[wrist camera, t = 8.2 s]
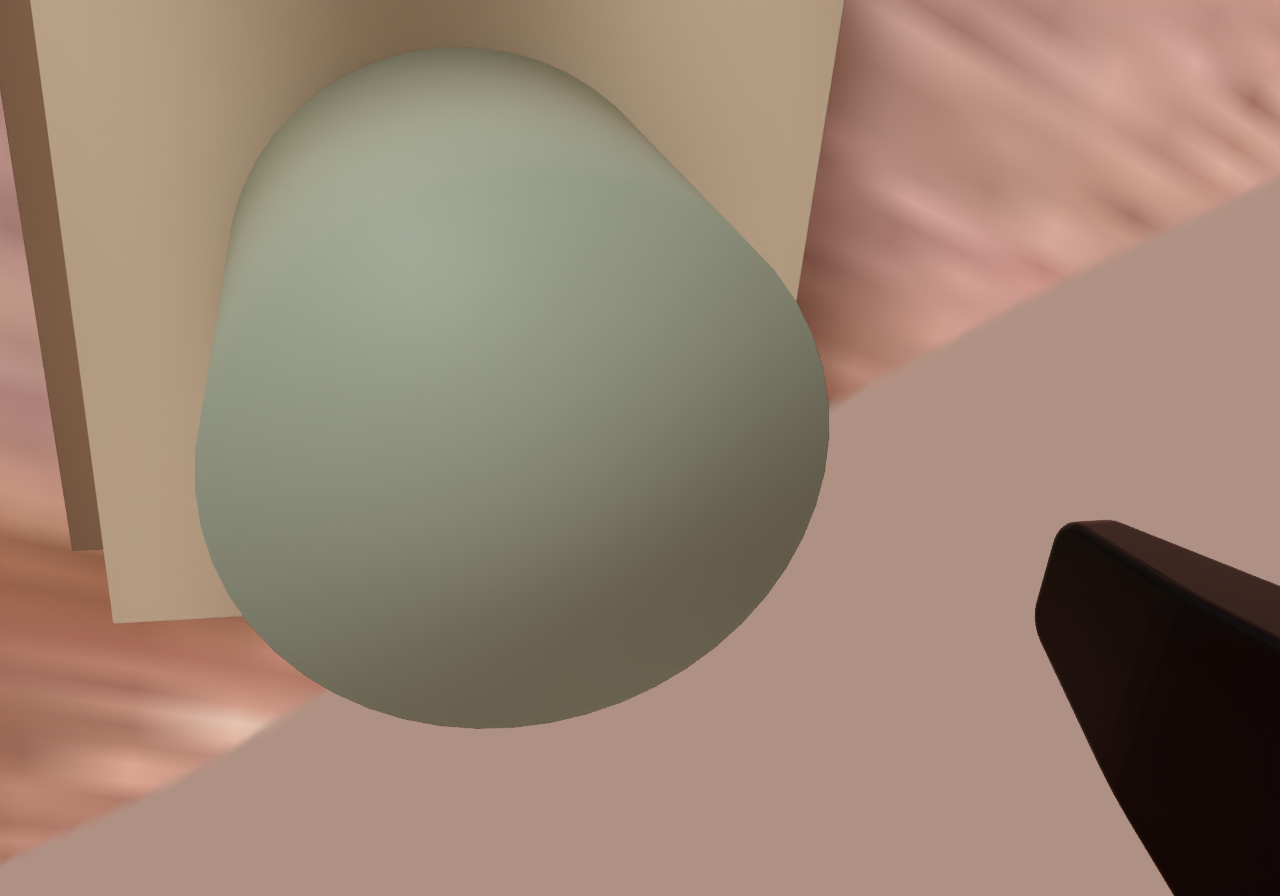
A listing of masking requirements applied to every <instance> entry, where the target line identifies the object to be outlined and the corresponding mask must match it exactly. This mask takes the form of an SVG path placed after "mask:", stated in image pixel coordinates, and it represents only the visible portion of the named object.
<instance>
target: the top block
mask: <svg viewBox="0 0 1280 896" xmlns="http://www.w3.org/2000/svg"><path fill="white" fill-rule="evenodd" d="M30 3H31V10H32V18H33V25H34V33H35V40H36V48H37V55H38V63H39V70H40V78H41V85H42V93H43V100H44V108H45V115H46V123H47V130H48V138H49V145H50V153H51V160H52V168H53V175H54V183H55V190H56V198H57V205H58V213H59V220H60V228H61V235H62V242H63V250H64V257H65V265H66V272H67V280H68V287H69V295H70V302H71V310H72V317H73V325H74V332H75V340H76V347H77V355H78V362H79V370H80V377H81V385H82V392H83V400H84V407H85V415H86V422H87V430H88V437H89V445H90V452H91V460H92V467H93V475H94V482H95V490H96V497H97V505H98V512H99V520H100V527H101V535H102V542H103V550H104V557H105V565H106V572H107V580H108V587H109V595H110V602H111V610H112V617H113V623H130V622H148V621H166V620H184V619H201V618H219V617H237V616H243V615H242V614H241V612H240V611H239V609H238V608H237V607H236V605H235V604H234V602H233V601H232V600H231V598H230V597H229V595H228V593H227V591H226V589H225V587H224V585H223V583H222V581H221V579H220V577H219V575H218V573H217V571H216V569H215V567H214V565H213V563H212V560H211V557H210V554H209V551H208V548H207V545H206V542H205V539H204V536H203V533H202V529H201V525H200V519H199V512H198V506H197V499H196V493H195V449H196V442H197V436H198V430H199V424H200V418H201V412H202V405H203V399H204V393H205V387H206V381H207V375H208V368H209V362H210V356H211V350H212V344H213V338H214V331H215V325H216V319H217V313H218V307H219V300H220V294H221V288H222V282H223V276H224V270H225V263H226V257H227V251H228V245H229V239H230V233H231V227H232V221H233V217H234V213H235V210H236V207H237V204H238V201H239V198H240V195H241V191H242V189H243V187H244V185H245V183H246V181H247V179H248V176H249V174H250V172H251V170H252V168H253V166H254V164H255V162H256V161H257V159H258V158H259V156H260V155H261V153H262V152H263V150H264V149H265V147H266V146H267V144H268V143H269V141H270V140H271V138H272V137H273V136H274V134H275V133H276V132H277V131H278V130H279V129H280V128H281V127H282V126H283V125H284V123H285V122H286V121H287V120H288V119H289V118H290V117H291V116H292V115H293V114H294V113H295V112H296V111H297V110H298V109H299V108H300V107H302V106H303V105H304V104H305V103H306V102H308V101H309V100H310V99H311V98H313V97H314V96H315V95H316V94H317V93H319V92H320V91H321V90H323V89H325V88H326V87H328V86H330V85H331V84H333V83H334V82H336V81H338V80H339V79H341V78H343V77H344V76H346V75H347V74H350V73H352V72H354V71H356V70H359V69H361V68H363V67H366V66H368V65H370V64H372V63H375V62H377V61H380V60H384V59H387V58H391V57H394V56H398V55H401V54H405V53H408V52H414V51H421V50H428V49H435V48H455V47H475V48H483V49H491V50H498V51H506V52H510V53H514V54H517V55H521V56H525V57H528V58H532V59H536V60H539V61H541V62H543V63H546V64H548V65H550V66H553V67H555V68H558V69H560V70H562V71H565V72H567V73H568V74H570V75H572V76H573V77H575V78H577V79H578V80H580V81H582V82H584V83H585V84H587V85H589V86H590V87H592V88H593V89H595V90H596V91H597V92H598V93H600V94H601V95H602V96H603V97H605V98H606V99H607V100H608V101H610V102H611V103H612V104H613V105H615V106H616V107H617V108H618V109H619V110H620V111H621V112H622V113H623V114H624V115H625V116H626V117H627V118H628V119H629V120H630V121H631V122H632V124H633V125H634V126H635V127H636V128H637V129H638V130H639V131H640V132H641V133H642V134H643V135H644V136H645V137H646V138H647V139H648V140H649V141H650V142H651V143H652V144H653V145H654V146H655V147H656V148H657V149H658V150H659V151H660V152H661V153H662V154H663V155H664V156H665V157H666V158H667V159H668V161H669V162H670V163H671V164H672V165H673V166H674V167H675V168H676V169H677V170H678V171H679V172H680V173H681V174H682V175H683V176H684V177H685V178H686V179H687V180H688V181H689V182H690V183H691V184H692V185H693V186H694V187H695V188H696V189H697V190H698V191H699V192H700V193H701V194H702V195H703V196H704V198H705V199H706V200H707V201H708V202H709V203H710V204H711V205H712V206H713V207H714V208H715V209H716V210H717V211H718V212H719V213H720V214H721V215H722V216H723V217H724V218H725V219H726V220H727V221H728V222H729V223H730V224H731V225H732V226H733V227H734V228H735V229H736V230H737V231H738V232H739V234H740V235H741V236H742V237H743V238H744V239H745V240H746V241H747V242H748V243H749V244H750V245H751V246H752V247H753V248H754V249H755V250H756V251H757V252H758V253H759V254H760V255H761V256H762V258H763V259H764V260H765V261H766V262H767V263H768V264H769V265H770V266H771V267H772V268H773V269H774V270H775V272H776V273H777V274H778V276H779V277H780V279H781V280H782V282H783V283H784V284H785V286H786V287H787V289H788V290H789V292H790V293H791V294H792V296H793V297H794V299H795V300H797V294H798V288H799V281H800V275H801V269H802V263H803V256H804V250H805V244H806V238H807V231H808V225H809V219H810V212H811V206H812V200H813V194H814V187H815V181H816V175H817V168H818V162H819V156H820V150H821V143H822V137H823V131H824V125H825V118H826V112H827V106H828V99H829V93H830V87H831V81H832V74H833V68H834V62H835V56H836V49H837V43H838V37H839V30H840V24H841V18H842V12H843V5H844V0H30Z"/></svg>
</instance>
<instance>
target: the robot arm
mask: <svg viewBox="0 0 1280 896" xmlns="http://www.w3.org/2000/svg"><path fill="white" fill-rule="evenodd" d="M1035 623H1036V629H1037V633H1038V636H1039V639H1040V641H1041V643H1042V646H1043V648H1044V650H1045V652H1046V654H1047V656H1048V658H1049V660H1050V662H1051V665H1052V667H1053V669H1054V671H1055V673H1056V675H1057V677H1058V679H1059V681H1060V684H1061V686H1062V688H1063V690H1064V692H1065V694H1066V697H1067V699H1068V701H1069V703H1070V705H1071V707H1072V709H1073V711H1074V713H1075V715H1076V718H1077V720H1078V722H1079V724H1080V726H1081V728H1082V730H1083V732H1084V735H1085V737H1086V739H1087V741H1088V743H1089V745H1090V747H1091V749H1092V751H1093V754H1094V756H1095V758H1096V760H1097V762H1098V764H1099V766H1100V768H1101V770H1102V772H1103V774H1104V776H1105V778H1106V780H1107V782H1108V784H1109V786H1110V788H1111V790H1112V792H1113V794H1114V796H1115V798H1116V799H1117V801H1118V803H1119V805H1120V806H1121V808H1122V810H1123V811H1124V813H1125V815H1126V817H1127V818H1128V820H1129V822H1130V824H1131V825H1132V827H1133V829H1134V830H1135V832H1136V834H1137V835H1138V837H1139V839H1140V840H1141V842H1142V843H1143V845H1144V847H1145V849H1146V850H1147V852H1148V853H1149V855H1150V857H1151V858H1152V860H1153V862H1154V863H1155V865H1156V867H1157V868H1158V870H1159V872H1160V873H1161V875H1162V877H1163V878H1164V880H1165V882H1166V883H1167V885H1168V887H1169V888H1170V890H1171V891H1172V893H1173V895H1174V896H1280V586H1279V585H1276V584H1273V583H1271V582H1268V581H1266V580H1263V579H1261V578H1258V577H1256V576H1253V575H1251V574H1248V573H1246V572H1243V571H1241V570H1238V569H1236V568H1233V567H1231V566H1228V565H1226V564H1223V563H1221V562H1218V561H1215V560H1213V559H1210V558H1208V557H1205V556H1203V555H1200V554H1198V553H1196V552H1193V551H1190V550H1188V549H1185V548H1183V547H1180V546H1178V545H1175V544H1173V543H1170V542H1168V541H1165V540H1163V539H1160V538H1158V537H1155V536H1152V535H1150V534H1147V533H1145V532H1143V531H1140V530H1138V529H1135V528H1132V527H1130V526H1128V525H1125V524H1122V523H1119V522H1116V521H1112V520H1097V521H1080V522H1071V523H1068V524H1066V525H1065V526H1063V527H1062V528H1061V529H1060V530H1059V532H1058V533H1057V535H1056V537H1055V539H1054V542H1053V546H1052V549H1051V553H1050V556H1049V560H1048V563H1047V567H1046V571H1045V575H1044V578H1043V581H1042V585H1041V588H1040V592H1039V596H1038V599H1037V603H1036V608H1035Z"/></svg>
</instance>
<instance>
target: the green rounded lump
mask: <svg viewBox="0 0 1280 896" xmlns="http://www.w3.org/2000/svg"><path fill="white" fill-rule="evenodd" d="M828 441H829V402H828V396H827V390H826V384H825V377H824V371H823V366H822V363H821V360H820V357H819V354H818V351H817V347H816V344H815V341H814V338H813V335H812V332H811V330H810V328H809V326H808V324H807V322H806V320H805V318H804V316H803V314H802V312H801V310H800V308H799V306H798V304H797V302H796V300H795V299H794V297H793V296H792V294H791V293H790V292H789V290H788V289H787V287H786V286H785V284H784V283H783V282H782V280H781V279H780V277H779V276H778V274H777V273H776V272H775V270H774V269H773V268H772V267H771V266H770V265H769V264H768V263H767V262H766V261H765V260H764V259H763V258H762V256H761V255H760V254H759V253H758V252H757V251H756V250H755V249H754V248H753V247H752V246H751V245H750V244H749V243H748V242H747V241H746V240H745V239H744V238H743V237H742V236H741V235H740V234H739V232H738V231H737V230H736V229H735V228H734V227H733V226H732V225H731V224H730V223H729V222H728V221H727V220H726V219H725V218H724V217H723V216H722V215H721V214H720V213H719V212H718V211H717V210H716V209H715V208H714V207H713V206H712V205H711V204H710V203H709V202H708V201H707V200H706V199H705V198H704V196H703V195H702V194H701V193H700V192H699V191H698V190H697V189H696V188H695V187H694V186H693V185H692V184H691V183H690V182H689V181H688V180H687V179H686V178H685V177H684V176H683V175H682V174H681V173H680V172H679V171H678V170H677V169H676V168H675V167H674V166H673V165H672V164H671V163H670V162H669V161H668V159H667V158H666V157H665V156H664V155H663V154H662V153H661V152H660V151H659V150H658V149H657V148H656V147H655V146H654V145H653V144H652V143H651V142H650V141H649V140H648V139H647V138H646V137H645V136H644V135H643V134H642V133H641V132H640V131H639V130H638V129H637V128H636V127H635V126H634V125H633V124H632V122H631V121H630V120H629V119H628V118H627V117H626V116H625V115H624V114H623V113H622V112H621V111H620V110H619V109H618V108H617V107H616V106H615V105H613V104H612V103H611V102H610V101H608V100H607V99H606V98H605V97H603V96H602V95H601V94H600V93H598V92H597V91H596V90H595V89H593V88H592V87H590V86H589V85H587V84H585V83H584V82H582V81H580V80H578V79H577V78H575V77H573V76H572V75H570V74H568V73H567V72H565V71H562V70H560V69H558V68H555V67H553V66H550V65H548V64H546V63H543V62H541V61H539V60H536V59H532V58H528V57H525V56H521V55H517V54H514V53H510V52H506V51H498V50H491V49H483V48H475V47H455V48H435V49H428V50H421V51H414V52H408V53H405V54H401V55H398V56H394V57H391V58H387V59H384V60H380V61H377V62H375V63H372V64H370V65H368V66H366V67H363V68H361V69H359V70H356V71H354V72H352V73H350V74H347V75H346V76H344V77H343V78H341V79H339V80H338V81H336V82H334V83H333V84H331V85H330V86H328V87H326V88H325V89H323V90H321V91H320V92H319V93H317V94H316V95H315V96H314V97H313V98H311V99H310V100H309V101H308V102H306V103H305V104H304V105H303V106H302V107H300V108H299V109H298V110H297V111H296V112H295V113H294V114H293V115H292V116H291V117H290V118H289V119H288V120H287V121H286V122H285V123H284V125H283V126H282V127H281V128H280V129H279V130H278V131H277V132H276V133H275V134H274V136H273V137H272V138H271V140H270V141H269V143H268V144H267V146H266V147H265V149H264V150H263V152H262V153H261V155H260V156H259V158H258V159H257V161H256V162H255V164H254V166H253V168H252V170H251V172H250V174H249V176H248V179H247V181H246V183H245V185H244V187H243V189H242V191H241V195H240V198H239V201H238V204H237V207H236V210H235V213H234V217H233V221H232V227H231V233H230V239H229V245H228V251H227V257H226V263H225V270H224V276H223V282H222V288H221V294H220V300H219V307H218V313H217V319H216V325H215V331H214V338H213V344H212V350H211V356H210V362H209V368H208V375H207V381H206V387H205V393H204V399H203V405H202V412H201V418H200V424H199V430H198V436H197V442H196V449H195V493H196V499H197V506H198V512H199V519H200V525H201V529H202V533H203V536H204V539H205V542H206V545H207V548H208V551H209V554H210V557H211V560H212V563H213V565H214V567H215V569H216V571H217V573H218V575H219V577H220V579H221V581H222V583H223V585H224V587H225V589H226V591H227V593H228V595H229V597H230V598H231V600H232V601H233V602H234V604H235V605H236V607H237V608H238V609H239V611H240V612H241V614H242V615H243V616H244V618H245V619H246V621H247V622H248V623H249V625H250V626H251V627H252V628H253V629H254V630H255V631H256V632H257V634H258V635H259V636H260V637H261V638H262V639H263V640H264V641H265V642H266V643H267V644H268V645H269V646H270V647H271V648H272V649H273V650H274V651H275V652H276V653H277V654H278V655H279V656H281V657H282V658H283V659H285V660H286V661H287V662H288V663H290V664H291V665H292V666H293V667H295V668H296V669H297V670H298V671H300V672H301V673H302V674H303V675H305V676H307V677H308V678H310V679H312V680H313V681H315V682H317V683H318V684H320V685H322V686H323V687H325V688H327V689H328V690H330V691H332V692H333V693H335V694H337V695H340V696H342V697H344V698H346V699H349V700H351V701H353V702H355V703H358V704H360V705H362V706H365V707H367V708H369V709H372V710H376V711H379V712H382V713H386V714H389V715H392V716H395V717H399V718H402V719H406V720H412V721H417V722H422V723H428V724H433V725H438V726H449V727H462V728H463V727H464V728H475V729H481V728H511V727H512V728H514V727H522V726H529V725H536V724H545V723H551V722H556V721H560V720H564V719H568V718H573V717H577V716H581V715H585V714H589V713H592V712H594V711H597V710H600V709H603V708H606V707H609V706H612V705H615V704H618V703H621V702H623V701H625V700H627V699H630V698H632V697H634V696H636V695H638V694H640V693H643V692H645V691H647V690H649V689H651V688H654V687H656V686H657V685H659V684H661V683H662V682H664V681H666V680H668V679H669V678H671V677H673V676H674V675H676V674H678V673H679V672H681V671H683V670H685V669H686V668H688V667H689V666H690V665H692V664H693V663H695V662H696V661H697V660H699V659H700V658H701V657H703V656H704V655H706V654H707V653H708V652H709V651H711V650H712V649H714V648H715V647H716V646H717V645H718V644H719V643H721V642H722V641H723V640H724V639H725V638H726V637H727V636H728V635H729V634H731V633H732V632H733V631H734V630H735V629H736V628H737V627H738V626H739V625H741V624H742V623H743V622H744V620H745V619H746V618H747V617H748V616H749V615H750V614H751V613H752V612H753V610H754V609H755V608H756V607H757V606H758V605H759V604H760V602H761V601H762V600H763V599H764V598H765V597H766V596H767V594H768V593H769V591H770V590H771V589H772V587H773V586H774V584H775V583H776V582H777V580H778V579H779V577H780V576H781V574H782V573H783V572H784V570H785V569H786V567H787V566H788V564H789V562H790V560H791V558H792V556H793V555H794V553H795V551H796V549H797V547H798V546H799V544H800V542H801V540H802V538H803V536H804V534H805V531H806V529H807V526H808V524H809V521H810V519H811V516H812V514H813V511H814V509H815V506H816V503H817V499H818V496H819V492H820V488H821V484H822V480H823V476H824V472H825V465H826V458H827V450H828Z"/></svg>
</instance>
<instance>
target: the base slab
mask: <svg viewBox="0 0 1280 896" xmlns="http://www.w3.org/2000/svg"><path fill="white" fill-rule="evenodd" d="M0 91H1V97H2V104H3V110H4V116H5V123H6V129H7V136H8V142H9V148H10V155H11V161H12V168H13V174H14V180H15V187H16V193H17V200H18V206H19V212H20V219H21V225H22V232H23V238H24V244H25V251H26V257H27V264H28V270H29V276H30V283H31V289H32V296H33V302H34V308H35V315H36V321H37V328H38V334H39V340H40V347H41V353H42V360H43V366H44V372H45V379H46V385H47V392H48V398H49V404H50V411H51V417H52V424H53V430H54V436H55V443H56V449H57V456H58V462H59V468H60V475H61V481H62V488H63V494H64V500H65V507H66V513H67V520H68V526H69V532H70V539H71V545H72V551H79V550H99V549H103V542H102V535H101V527H100V520H99V512H98V505H97V497H96V490H95V482H94V475H93V467H92V460H91V452H90V445H89V437H88V430H87V422H86V415H85V407H84V400H83V392H82V385H81V377H80V370H79V362H78V355H77V347H76V340H75V332H74V325H73V317H72V310H71V302H70V295H69V287H68V280H67V272H66V265H65V257H64V250H63V242H62V235H61V228H60V220H59V213H58V205H57V198H56V190H55V183H54V175H53V168H52V160H51V153H50V145H49V138H48V130H47V123H46V115H45V108H44V100H43V93H42V85H41V78H40V70H39V63H38V55H37V48H36V40H35V33H34V25H33V18H32V10H31V3H30V0H0Z"/></svg>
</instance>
